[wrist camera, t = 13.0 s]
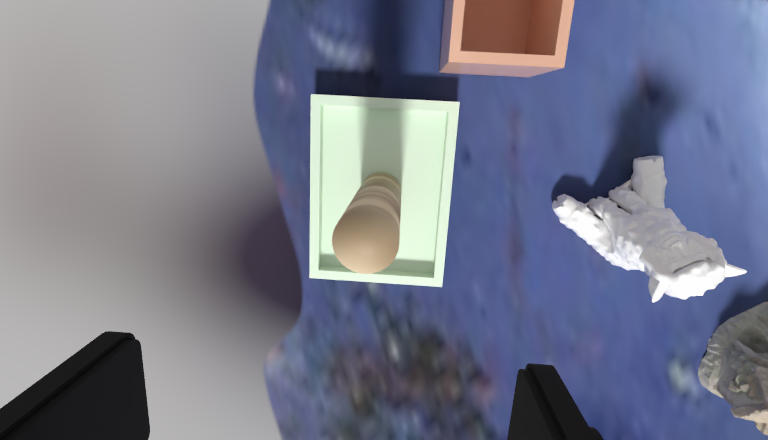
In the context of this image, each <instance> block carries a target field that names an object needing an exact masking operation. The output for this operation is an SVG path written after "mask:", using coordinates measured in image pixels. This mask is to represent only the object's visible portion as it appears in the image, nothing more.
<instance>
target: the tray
mask: <svg viewBox="0 0 768 440" xmlns="http://www.w3.org/2000/svg"><path fill="white" fill-rule="evenodd" d="M459 104H460V102H450V101H432V100H413V99H394V98H375V97H357V96H338V95H319V94H311V145H310V278H319V279H333V280H348V281H362V282H377V283H392V284H406V285H421V286H435V287H442V283H443V272H444V262H445V251H446V241H447V230H448V220H449V209H450V199H451V188H452V177H453V167H454V156H455V146H456V135H457V125H458V114H459ZM377 172H385V173H388V174H391V175H392V176H394V177H395V178H396V179H397V180H398V182H399V184H400V186H401V216H400V239H399V249H398V253H397V255H396V257H395V259H394V260H393V262H392V263H391V264H390V265H389V266H388V267H386V268H385V269H383V270H381V271H379V272H376V273H372V274H361V273H357V272H354V271H351V270H349V269H348V268H346V267H345V266H344V265H343V264H341V262H340V261H339V260H338V259H337V257H336V255H335V253H334V250H333V246H332V235H333V231H334V229H335V226H336V225H337V223H338V221H339V220H340V218H341V217H342V215H343V213H344V212H345V210H346V209H347V207H348V206H349V204H350V202H351V201H352V199H353V198H354V196H355V194H356V193H357V191H358V190H359V188H360V187H361V185H362V183H363V182H364V180H365V179H366V178H367V177H368V176H370V175H371V174H373V173H377Z"/></svg>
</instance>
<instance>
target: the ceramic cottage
mask: <svg viewBox="0 0 768 440" xmlns="http://www.w3.org/2000/svg"><path fill="white" fill-rule="evenodd" d="M701 361H702V362H701V363H700V366H699V370H698V375H699V379H700V382H701V384H702V385H703V386H704V387H705V388H707V389H708V390H709V391H711V392H712V393H713V394H716V395H717V396H720V397H722V398H724V399H725V400H726V401H727V402H728V403H729V404H730V405H731V406H732V408H731V412H732V414H733V415H734V417H739V418H744V419H746V420H753V421H755V424H756V427H757V428H758V429H759V430H760V431H761V432H762V433H763V434H765V435H768V301H767V302H763V303H761V304H759V305H757V306H755V307H753V308H751V309H748V310H747V311H746V312H745V311H744V312H742V313H741V314H738V315H736V316H734V317H732V318H729V319H728V320H727V321H726V322H724V323H723V324H721V325H720V326H719V327H718V328H717V329H716V331H715V332H714V333H713V334H712V338H710V339H709V343H708V347H707V352H706V354H705V356H704V358H702V359H701Z"/></svg>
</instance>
